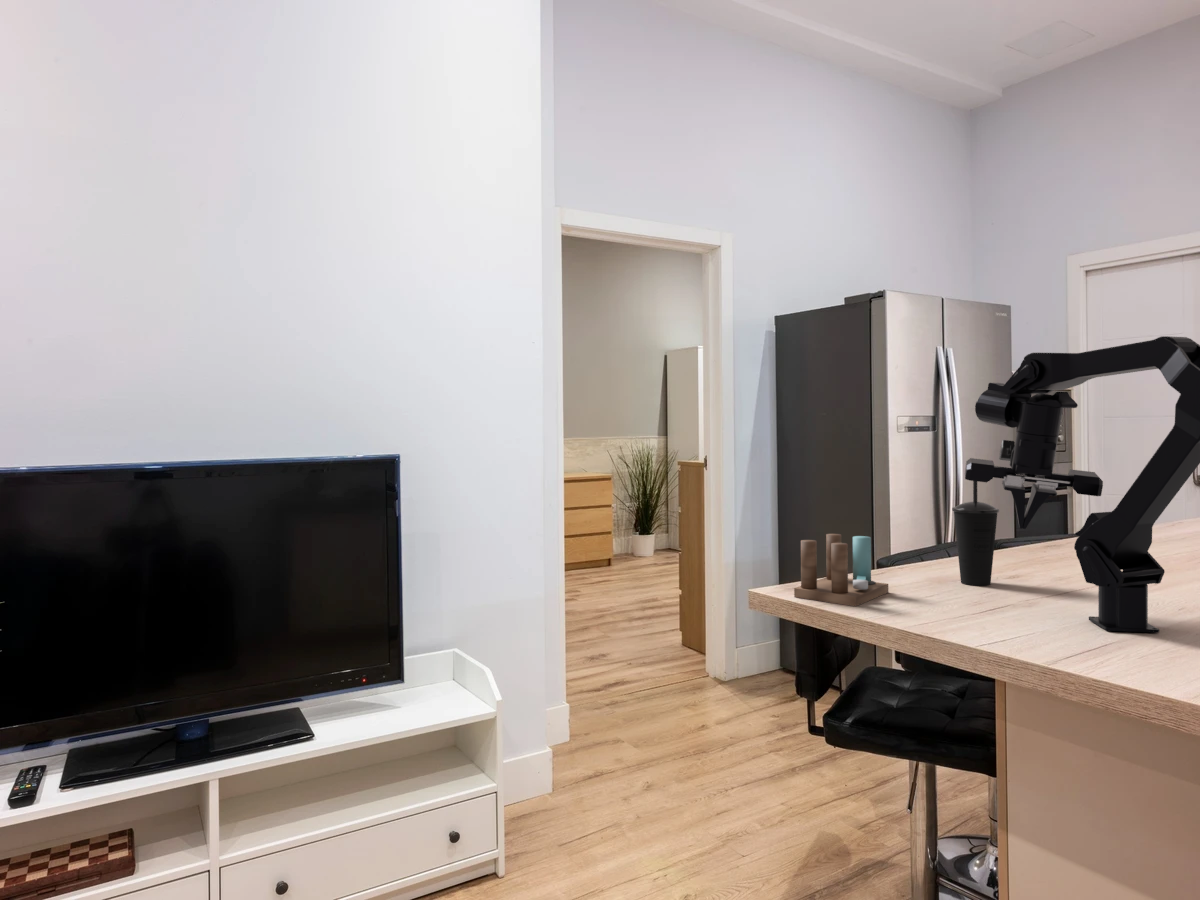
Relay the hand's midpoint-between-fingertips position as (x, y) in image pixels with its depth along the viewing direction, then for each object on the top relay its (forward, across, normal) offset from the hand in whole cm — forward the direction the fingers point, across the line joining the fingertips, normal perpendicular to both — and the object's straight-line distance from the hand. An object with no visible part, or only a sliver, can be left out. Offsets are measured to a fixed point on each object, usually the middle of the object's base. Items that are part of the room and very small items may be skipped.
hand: (1022, 528), depth 122 cm
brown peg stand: (+15, +26, +6) cm, 30 cm away
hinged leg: (+12, +23, +5) cm, 27 cm away
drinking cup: (+15, +5, -12) cm, 20 cm away
